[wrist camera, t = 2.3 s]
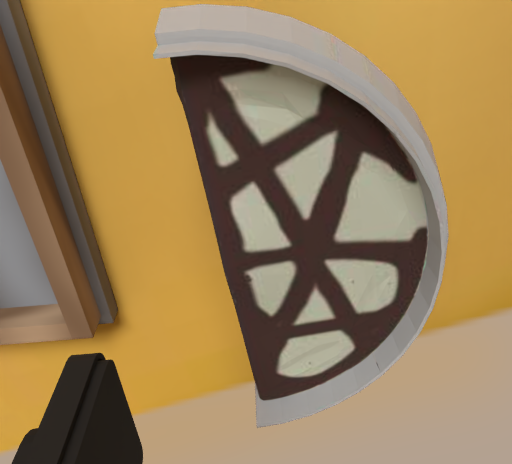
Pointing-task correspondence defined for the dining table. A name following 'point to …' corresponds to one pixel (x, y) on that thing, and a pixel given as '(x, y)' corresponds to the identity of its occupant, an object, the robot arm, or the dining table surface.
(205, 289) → the dining table surface
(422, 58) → the dining table surface
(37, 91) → the board
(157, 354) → the dining table surface
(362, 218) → the food container
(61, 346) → the dining table surface
